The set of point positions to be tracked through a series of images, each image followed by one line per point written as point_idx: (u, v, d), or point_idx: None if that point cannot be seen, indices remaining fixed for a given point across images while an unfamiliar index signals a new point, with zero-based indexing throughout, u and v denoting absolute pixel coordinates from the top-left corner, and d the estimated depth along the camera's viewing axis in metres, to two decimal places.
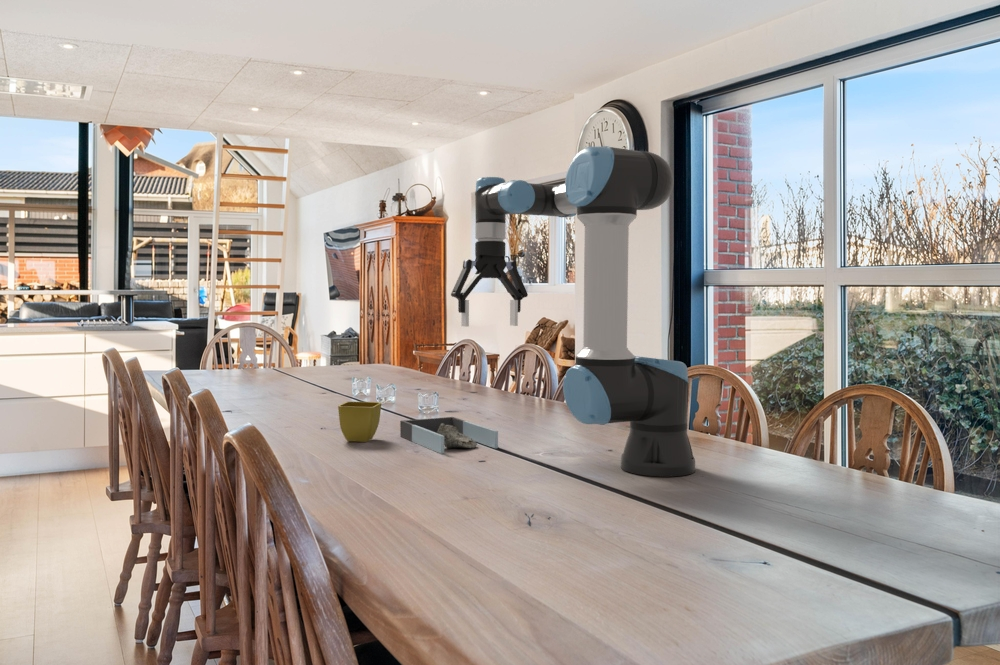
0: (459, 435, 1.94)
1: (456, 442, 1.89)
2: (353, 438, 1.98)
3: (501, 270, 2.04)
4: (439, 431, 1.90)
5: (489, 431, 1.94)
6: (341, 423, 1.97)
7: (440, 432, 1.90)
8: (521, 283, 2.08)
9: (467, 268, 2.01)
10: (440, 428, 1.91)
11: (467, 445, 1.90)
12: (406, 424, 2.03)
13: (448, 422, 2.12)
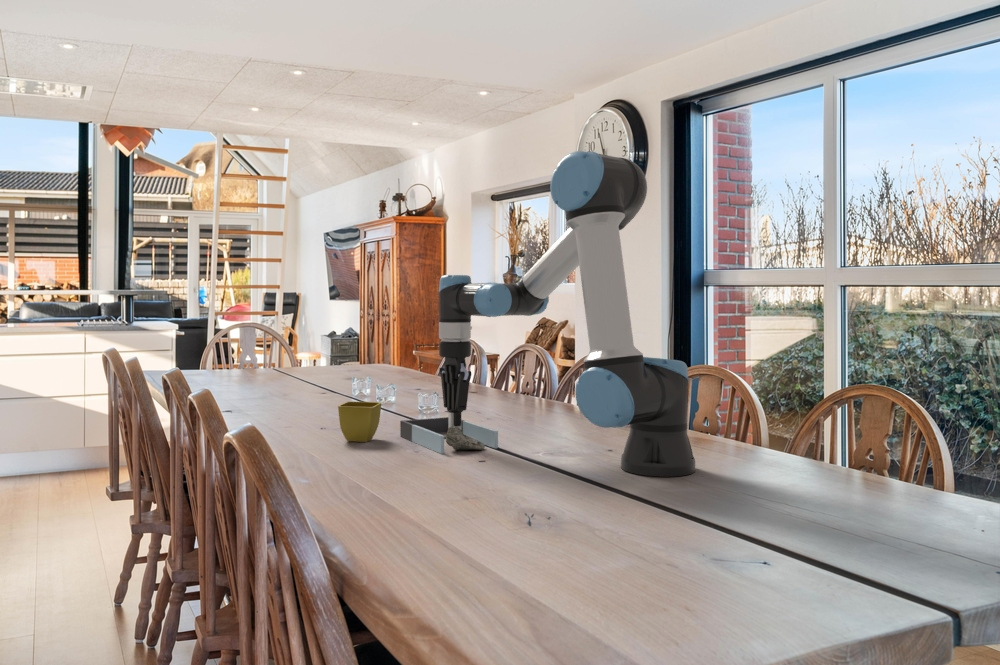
0: (466, 437, 1.91)
1: (466, 444, 1.87)
2: (353, 438, 1.98)
3: (451, 373, 1.93)
4: (449, 433, 1.87)
5: (489, 431, 1.94)
6: (341, 423, 1.97)
7: (450, 434, 1.87)
8: (457, 396, 1.91)
9: (441, 376, 1.99)
10: (449, 430, 1.88)
11: (477, 447, 1.88)
12: (406, 424, 2.03)
13: None
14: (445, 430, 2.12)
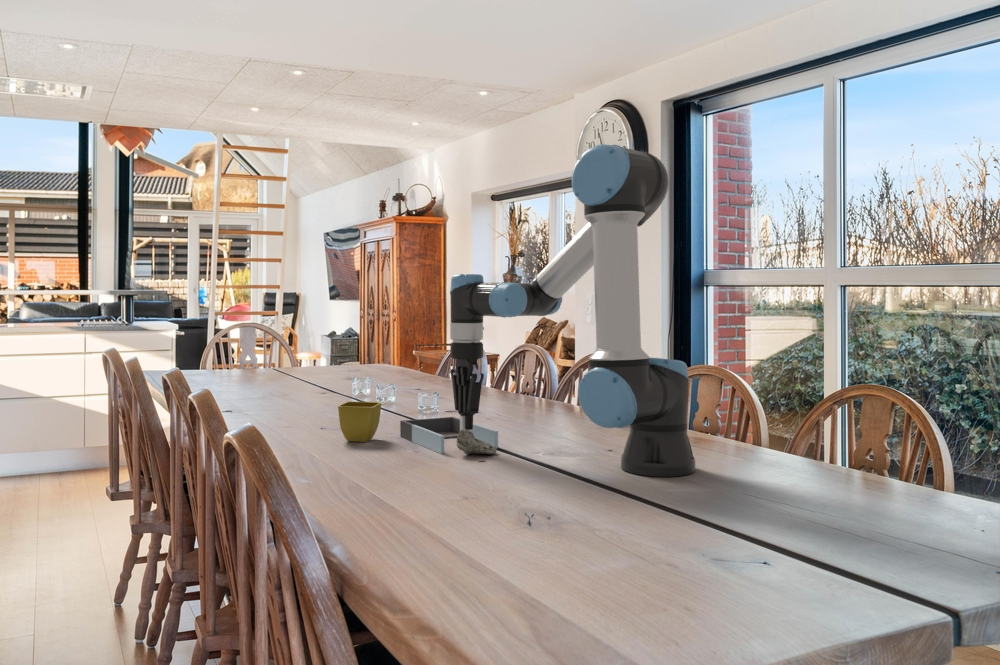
0: (477, 441, 1.86)
1: (478, 448, 1.82)
2: (353, 438, 1.98)
3: (462, 375, 1.87)
4: (459, 437, 1.82)
5: (489, 431, 1.94)
6: (341, 423, 1.97)
7: (460, 438, 1.82)
8: (469, 398, 1.86)
9: (452, 378, 1.94)
10: (460, 434, 1.82)
11: (488, 451, 1.83)
12: (406, 424, 2.03)
13: (448, 422, 2.12)
14: (445, 430, 2.12)
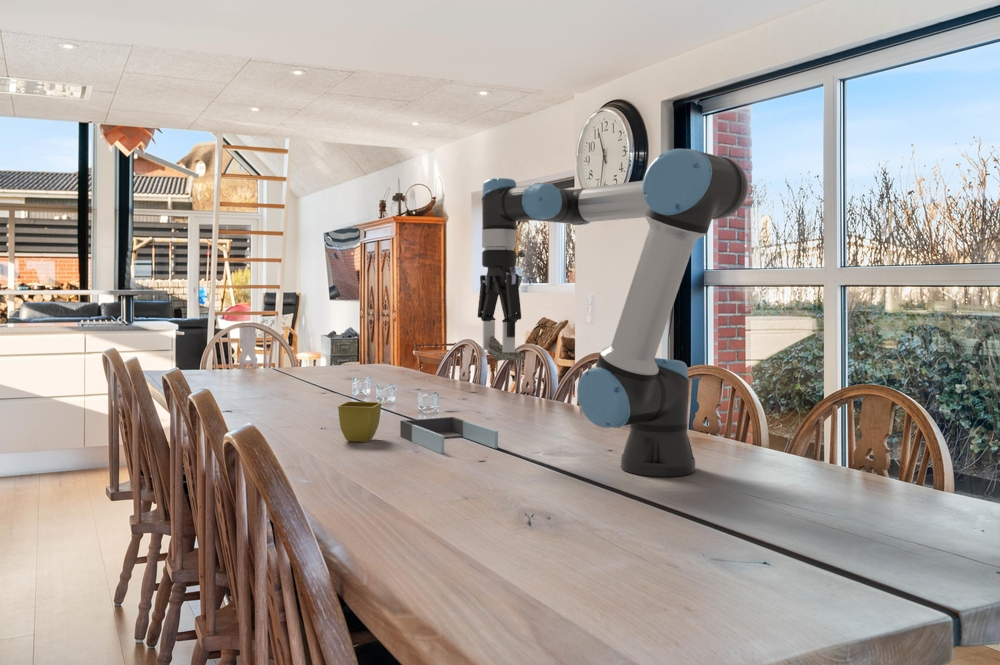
0: None
1: (509, 353, 1.81)
2: (353, 438, 1.98)
3: (496, 283, 1.81)
4: (490, 342, 1.80)
5: (489, 431, 1.94)
6: (341, 423, 1.97)
7: (492, 343, 1.80)
8: (509, 302, 1.77)
9: (481, 285, 1.88)
10: (490, 339, 1.81)
11: (519, 356, 1.82)
12: (406, 424, 2.03)
13: (448, 422, 2.12)
14: (445, 430, 2.12)
